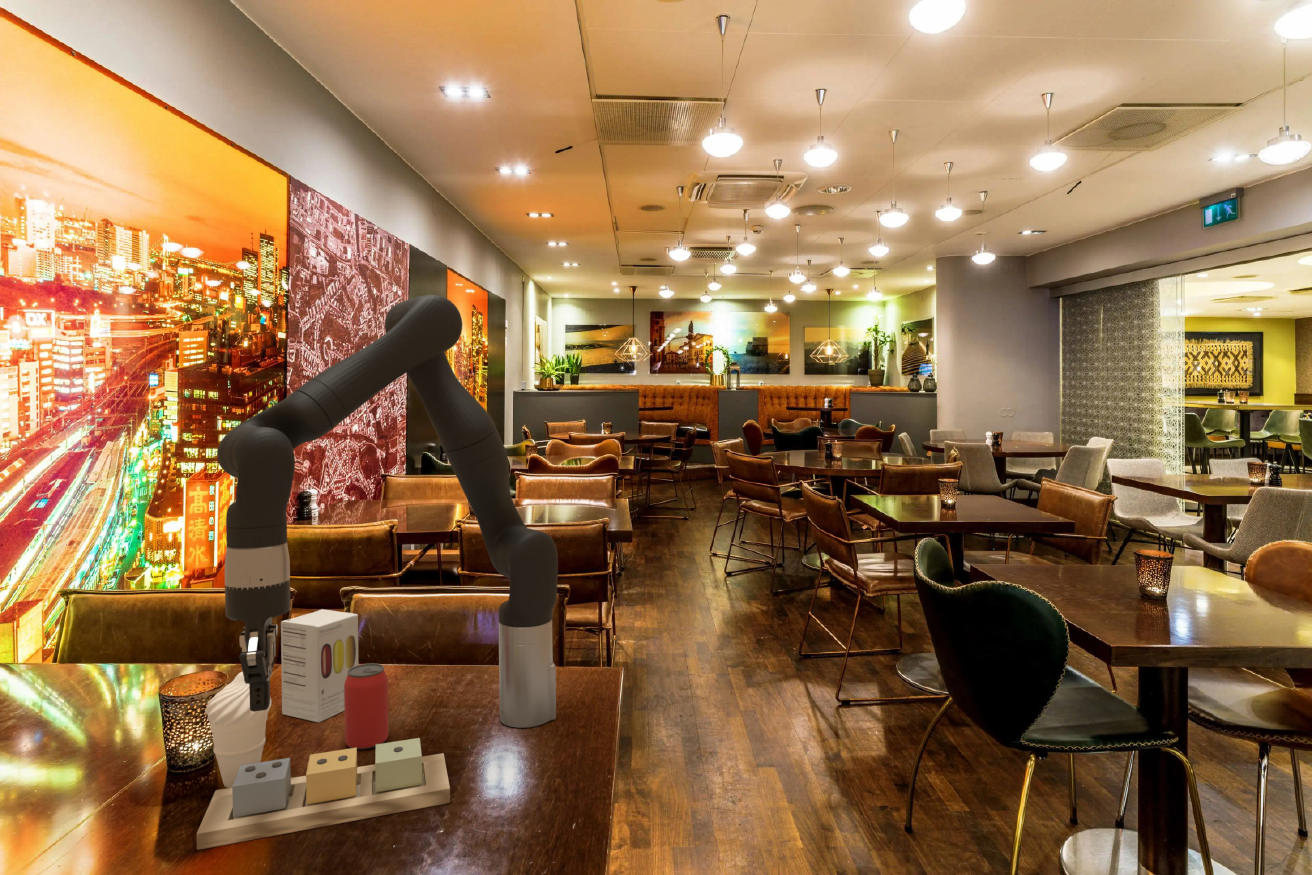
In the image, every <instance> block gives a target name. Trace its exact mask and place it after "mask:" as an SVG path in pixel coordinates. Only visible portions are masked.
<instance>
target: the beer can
mask: <svg viewBox="0 0 1312 875" xmlns="http://www.w3.org/2000/svg"><path fill="white" fill-rule="evenodd" d="M347 673H348V675H347V678H346V680H345V684H344V707H345V710H344V741H345V742H344V743H345V744H346V746H347V747H349V749H350V748H357V750H369V749H372V748H376V744H383V743H386V741H387V740H388V737H389V734H390V732H389V685H388V684H389V682H388V681H389V679H388V674H387V673H386V671H385V666H384V665H383V664H381V663H373V662H372V663H371V662H370V663H362V664H358V665H357V666H354V667H352V668H350V669H349V670H348V672H347Z"/></svg>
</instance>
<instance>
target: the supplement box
mask: <svg viewBox="0 0 1312 875" xmlns="http://www.w3.org/2000/svg"><path fill="white" fill-rule="evenodd" d="M280 637H281V638H280V646H281V647H280V649H281V650H280V652H281V656H280V657H281V658H280V659H281V714H282V715H284V716H285V715H286V716H288V717H294V718H298V719H302V720H306V721H311V722H314V723H321V722H323V721H325V720H327V719H329V718H332V717H333V716H335V715H337V714H340V713H342V712H345V707H344V684H345V680H346V678H347V675H348V673H347V672H348V670H349V669H350V668H352V667H354V666H357V665H359V614H357V613H351V612H343V611H337V610H331V609H323V608H321V609H319V610H315V611H314V612H310V613H306V614H303V615H300V616H299V615H298V616H296V617H293V618H289V619H285V620H282V621H280Z"/></svg>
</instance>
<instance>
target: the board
mask: <svg viewBox="0 0 1312 875" xmlns="http://www.w3.org/2000/svg"><path fill="white" fill-rule="evenodd" d="M450 787H451V786H450V782H449V776H448V771H447V766H446V759H445V755H444V752H443V753H436V754H431V755H424V756H423V755H422V784H421V785H416V786H410V787H404V788H399V789H393V790H387V791H381V792H376V774H375V764H370V765H363V766H357V787H356V796H353V797H347V798H342V799H336V800H330V801H325V802H319V803H313V804H307V798H306V775H302V776H296V777H295V776H294V777H291V788H290V792H289V796H288V800H287V804H286V808H285V809H279V810H273V811H268V812H262V813H256V814H251V815H245V816H239V817H234V818H233V798H232V788H227V787H226V788H222V789H216V790H215V791H214V793H213V796H212V798H211V800H210V803H209V805H208V806H207V810H206V811H205V814H204V816H203V819H202V821H201V822H200V826H199V827H198V830H197V832H196V850H203V849H204V850H205V849H209V848H214V847H220V846H226V845H230V844H235V843H243V842H246V841H252V840H257V839H262V838H268V837H273V836H279V835H284V834H291V833H294V832H299V831H306V830H310V829H311V830H312V829H317V828H321V827H327V826H332V825H339V824H342V823H348V822H353V821H359V820H364V819H370V818H374V817H380V816H385V815H386V816H387V815H391V814H396V813H401V812H408V811H413V810H418V809H425V808H429V807H434V806H440V805H445V804H450V803H451V788H450Z"/></svg>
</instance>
